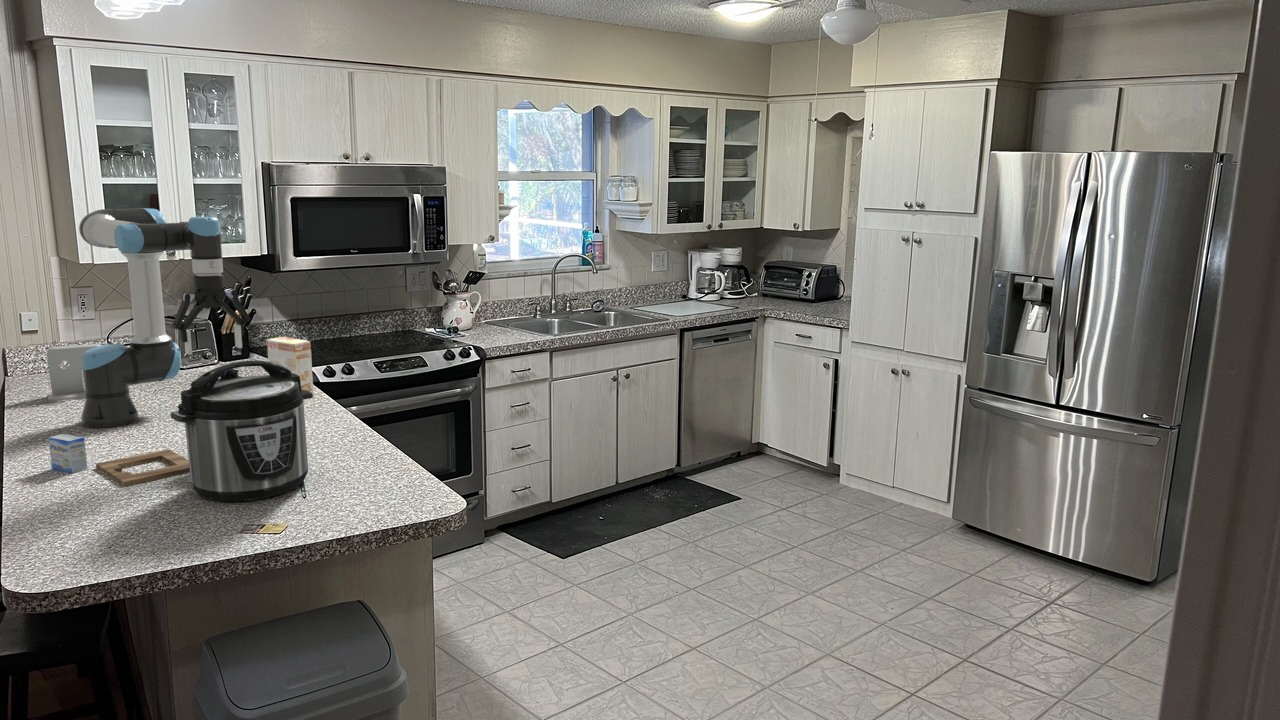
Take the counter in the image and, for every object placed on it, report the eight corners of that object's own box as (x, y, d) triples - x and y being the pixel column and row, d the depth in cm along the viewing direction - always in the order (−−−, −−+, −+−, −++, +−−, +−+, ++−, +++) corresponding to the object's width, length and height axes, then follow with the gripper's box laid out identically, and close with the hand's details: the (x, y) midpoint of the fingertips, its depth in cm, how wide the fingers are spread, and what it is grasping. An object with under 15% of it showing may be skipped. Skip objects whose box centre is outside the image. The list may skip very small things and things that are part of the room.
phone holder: (107, 389, 319) (102, 339, 316) (108, 395, 311) (102, 344, 307) (49, 394, 311) (42, 343, 307) (48, 401, 302) (41, 348, 298)
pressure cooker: (169, 511, 209) (157, 377, 202) (199, 472, 236) (188, 352, 229) (307, 503, 215) (299, 372, 209) (320, 465, 242) (313, 349, 236)
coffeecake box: (314, 396, 315) (311, 340, 311) (297, 400, 309) (293, 344, 305) (287, 389, 323) (283, 336, 319) (269, 393, 317) (265, 339, 313)
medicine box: (51, 469, 235) (47, 437, 234) (67, 464, 239) (63, 433, 238) (72, 473, 233) (68, 441, 231) (88, 468, 237) (84, 436, 235)
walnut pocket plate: (96, 468, 237) (95, 463, 237) (168, 453, 250) (168, 449, 250) (124, 486, 224) (123, 481, 224) (199, 469, 237) (198, 465, 237)
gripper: (165, 278, 235) (172, 358, 240) (259, 272, 253) (264, 346, 258) (154, 276, 240) (161, 354, 245) (247, 269, 258) (252, 343, 263)
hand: (214, 350), depth 251 cm, fingers open, 13 cm apart
